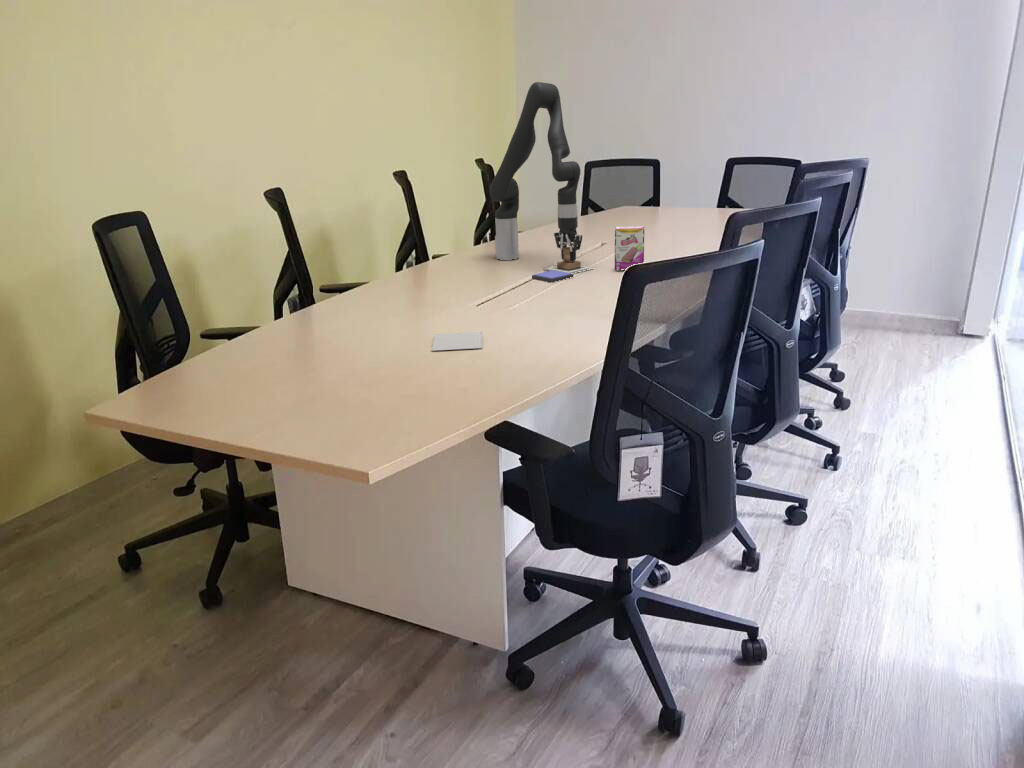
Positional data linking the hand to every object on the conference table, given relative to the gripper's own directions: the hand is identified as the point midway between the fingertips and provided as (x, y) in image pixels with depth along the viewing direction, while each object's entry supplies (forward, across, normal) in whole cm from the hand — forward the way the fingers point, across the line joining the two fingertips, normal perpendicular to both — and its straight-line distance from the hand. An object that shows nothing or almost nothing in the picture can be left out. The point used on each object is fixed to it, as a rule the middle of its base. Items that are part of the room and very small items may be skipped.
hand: (568, 259), depth 324 cm
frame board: (+4, 0, 0) cm, 4 cm away
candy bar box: (+4, +19, +14) cm, 24 cm away
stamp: (+3, 0, 0) cm, 3 cm away
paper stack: (+4, +53, -87) cm, 102 cm away
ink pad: (+4, +6, -14) cm, 16 cm away
